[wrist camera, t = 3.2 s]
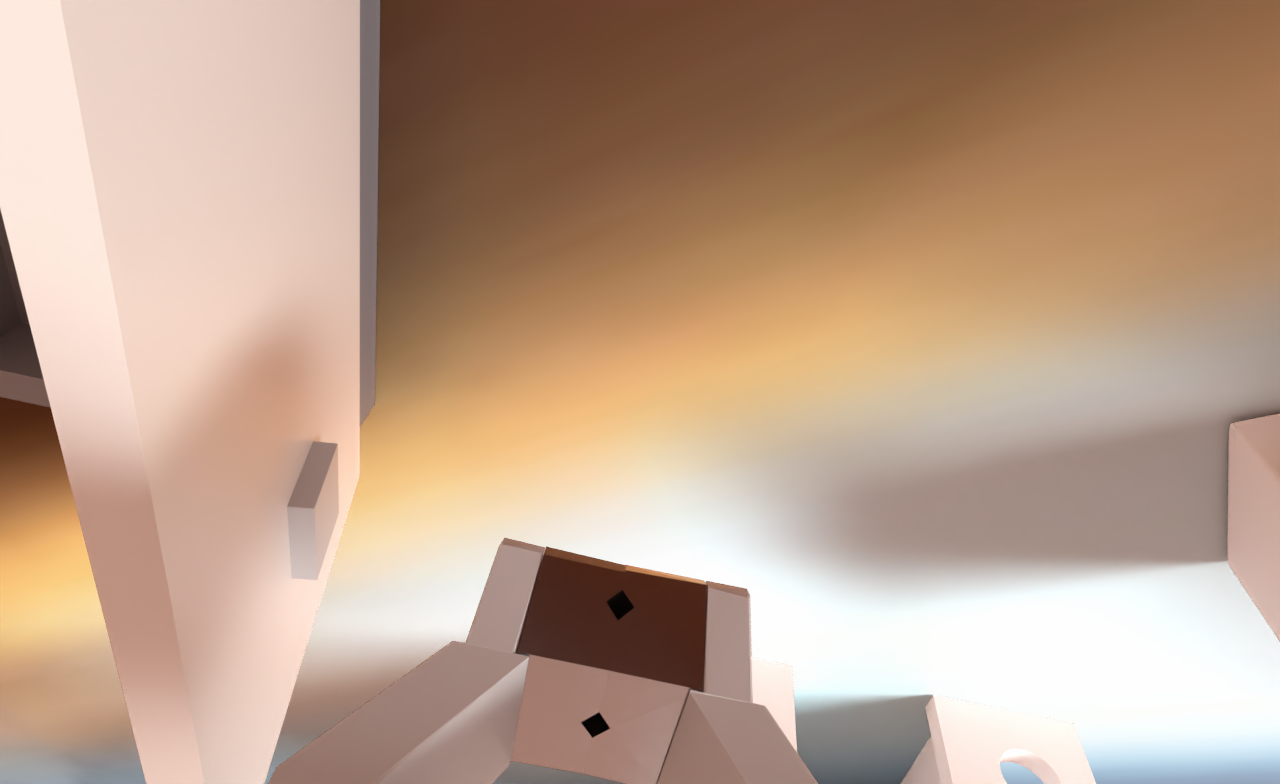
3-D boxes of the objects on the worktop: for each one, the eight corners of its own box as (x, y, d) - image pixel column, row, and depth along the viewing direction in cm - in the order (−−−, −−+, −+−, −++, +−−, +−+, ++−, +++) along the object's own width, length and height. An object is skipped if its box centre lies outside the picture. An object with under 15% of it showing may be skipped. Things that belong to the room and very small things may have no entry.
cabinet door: (-590, -2115, 3) (-145, -1895, 4) (301, -643, 15) (394, -615, 15) (176, 904, 18) (256, 905, 18) (329, 473, 29) (377, 477, 30)
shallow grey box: (-251, -700, 18) (-473, -821, 15) (387, -551, 18) (308, -636, 15) (19, 327, 33) (-63, 383, 29) (374, 404, 33) (333, 467, 30)
